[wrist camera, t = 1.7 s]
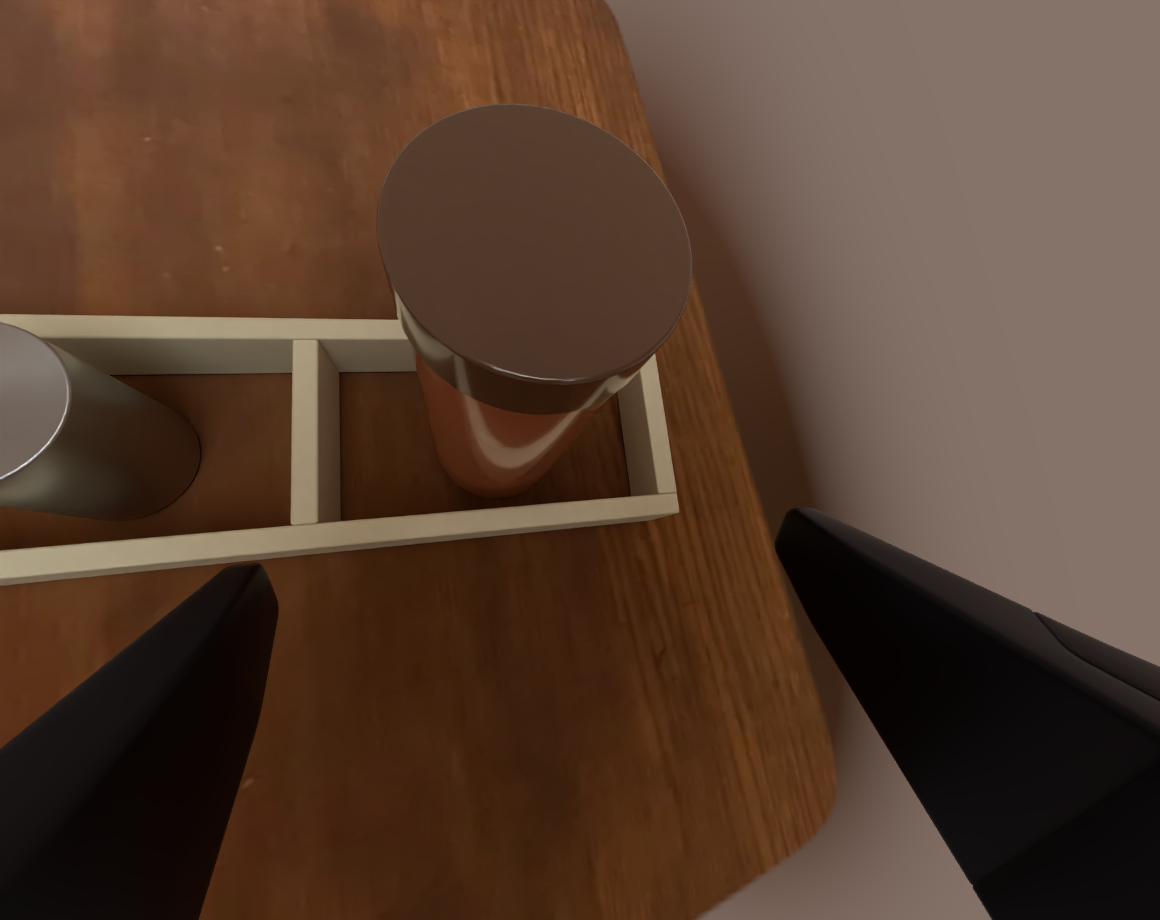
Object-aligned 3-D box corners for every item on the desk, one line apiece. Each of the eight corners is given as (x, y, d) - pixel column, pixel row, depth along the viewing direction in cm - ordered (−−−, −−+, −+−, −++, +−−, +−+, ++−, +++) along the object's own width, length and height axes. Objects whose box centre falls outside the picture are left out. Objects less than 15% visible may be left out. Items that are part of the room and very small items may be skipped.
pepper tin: (198, 515, 17) (60, 487, 11) (44, 526, 16) (-197, 503, 10) (204, 399, 18) (78, 318, 12) (59, 402, 16) (-156, 315, 11)
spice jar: (562, 496, 20) (717, 380, 8) (436, 506, 19) (380, 387, 6) (550, 383, 21) (669, 120, 9) (430, 385, 20) (371, 80, 7)
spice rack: (627, 354, 22) (650, 322, 19) (651, 520, 21) (680, 512, 18) (-93, 356, 16) (-216, 309, 13) (-140, 600, 14) (-292, 607, 11)
